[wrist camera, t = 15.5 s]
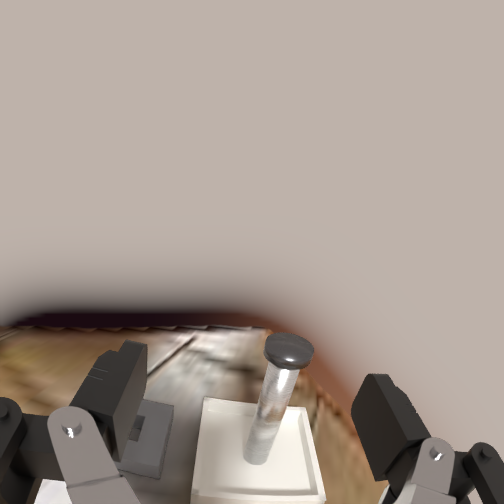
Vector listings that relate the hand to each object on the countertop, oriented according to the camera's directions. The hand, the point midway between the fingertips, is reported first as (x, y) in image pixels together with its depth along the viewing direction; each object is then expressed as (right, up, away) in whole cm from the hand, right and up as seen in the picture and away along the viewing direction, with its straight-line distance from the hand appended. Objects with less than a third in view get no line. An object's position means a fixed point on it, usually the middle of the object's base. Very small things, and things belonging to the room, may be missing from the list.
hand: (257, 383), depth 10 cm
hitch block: (-17, -20, +23) cm, 35 cm away
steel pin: (0, -22, +24) cm, 32 cm away
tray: (0, -23, +24) cm, 33 cm away
